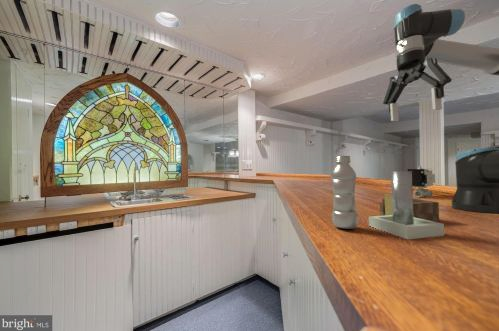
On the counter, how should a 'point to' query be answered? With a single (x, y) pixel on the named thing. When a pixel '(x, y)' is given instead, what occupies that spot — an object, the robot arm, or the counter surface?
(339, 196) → the plastic bottle
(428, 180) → the ball valve
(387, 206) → the brass block
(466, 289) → the counter surface
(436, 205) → the socket block
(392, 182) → the grey metal peg
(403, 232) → the tray
